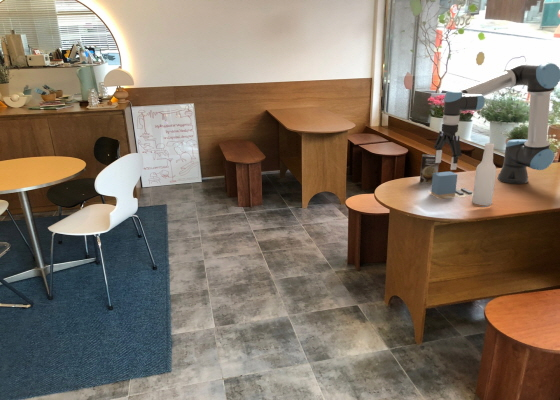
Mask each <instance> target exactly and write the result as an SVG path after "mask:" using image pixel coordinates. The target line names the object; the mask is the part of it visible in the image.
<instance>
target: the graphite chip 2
mask: <svg viewBox="0 0 560 400" xmlns="http://www.w3.org/2000/svg"><path fill="white" fill-rule="evenodd" d="M460 188H461V187H460ZM465 188H466V187H462V188H461V191H463V192H465V193H467V194H472V192H473V191H472V190H470V191H469V189H468V188H466V189H465ZM467 189H468V190H467ZM471 191H472V192H471Z"/></svg>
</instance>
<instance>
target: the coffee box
mask: <svg viewBox="0 0 560 400" xmlns="http://www.w3.org/2000/svg"><path fill="white" fill-rule="evenodd" d="M421 156H422V157H421V164H420V165H421V166H420V177H419V184H432V178H433V173H439V165H440V163H435V161H436V154H430V153H429V154H427V153H425V154H424V153H423V154H422V155H421Z"/></svg>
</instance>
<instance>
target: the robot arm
mask: <svg viewBox="0 0 560 400" xmlns="http://www.w3.org/2000/svg"><path fill="white" fill-rule="evenodd" d="M559 82H560V67H559V66H558V65H557V64H555V63H552V62H547V61H526V62H522V63H520V64H517V65H513V66H511V67H509V68H507V69H504V71H503V72H501V73H499V74H496V75H495V76H492V77H491V76H490V78H487V79H485V80H482V81H479V82H477V83H474V84H471V85H470V86H467V87H463V88H461V89H459V90H448V91H446V92H445V95H444V96H443V101H444V104H443V116H442V124H441V130H439V132H438V136H437V137H436V141H435V142H434V145H433V148H434V149H435V150H436V152H435V155H436V161H435V163H439V164H440V163H442V155H443V147H444V146H445V144H446V143H447V144H448V145H449V147H450V150H451V153H452V154H451V155H452V156H451V163H450V169H449V170H450V171H453V170H454V171H456V170H457V168H458V167H457V166H458V161H459V157H462V155H463V154H462V149H461V144H460V135H456V133H458V132H459V123H460V117H461V115H460V114H461V112H465V111H467V112H469V111H481V110H482V109H483V108H484V107H485V103H486V101H485V96H487V95H490V94H493V93H495V92H498V91H501V90H503V89H505V88H513V87H516V86H527V93H528V94H529V96H530V97H529V112H528V126H527V127H528V128H527V129H528V130H527V139H522V138H521V139H520V138H519V139H517V138H516V139H509V140H508V141H506V145H505V149H504V158H503V163H502V164H503V165H502V167H501V169H500V171H499V173H498V177H497V179H498V181H500V182H503V183H505V184H506V183H507V184H514V185H515V184H516V185H520V184H522V185H524V184H526V183H528V181H529V176H528V170H527V168H530V169H532V170H536V171H544V170H546V169H548V168H549V167H550V166H551V165H552V163H553V162H554V159H555V152H554V151H553V150H552V149H550V148H551V146H550V145H551V143H550V142H549V141H548V126H549V115H550V102H551V101H550V100H551V93H553V92H554V90H555V87H557V86H558V85H559Z"/></svg>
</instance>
